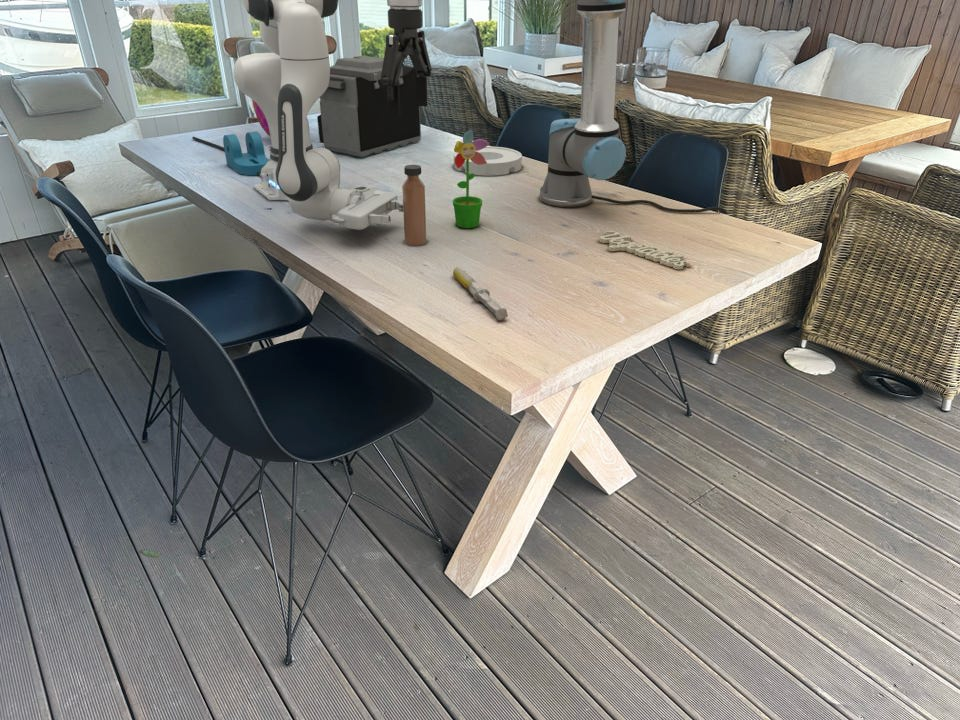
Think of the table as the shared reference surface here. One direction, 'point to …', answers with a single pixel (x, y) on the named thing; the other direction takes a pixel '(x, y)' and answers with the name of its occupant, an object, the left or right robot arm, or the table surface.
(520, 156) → the ashtray
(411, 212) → the bottle
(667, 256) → the decorative sign
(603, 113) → the right robot arm
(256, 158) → the camera mount
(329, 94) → the grey and black block
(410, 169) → the cap
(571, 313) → the table surface
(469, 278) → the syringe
